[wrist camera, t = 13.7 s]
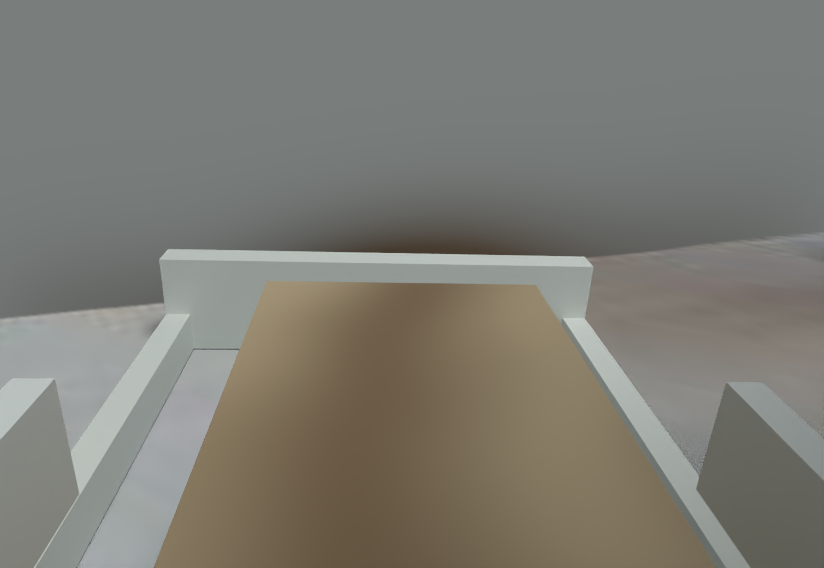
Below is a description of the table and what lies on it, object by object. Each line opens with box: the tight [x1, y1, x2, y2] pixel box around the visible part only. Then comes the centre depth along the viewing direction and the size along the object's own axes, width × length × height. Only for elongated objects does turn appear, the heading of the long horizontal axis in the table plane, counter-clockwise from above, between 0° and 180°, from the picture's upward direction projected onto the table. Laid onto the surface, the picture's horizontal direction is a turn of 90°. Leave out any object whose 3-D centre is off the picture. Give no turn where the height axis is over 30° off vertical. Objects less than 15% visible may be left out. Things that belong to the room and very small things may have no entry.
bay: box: [34, 249, 750, 568], centre depth 20 cm, size 22×29×5 cm
